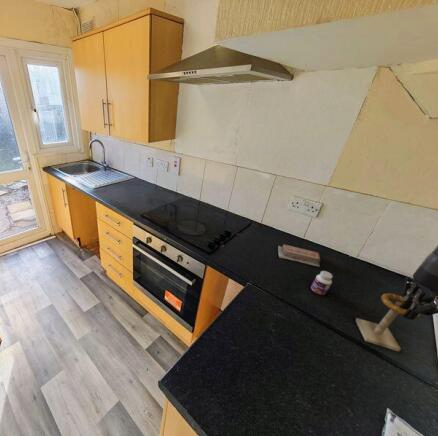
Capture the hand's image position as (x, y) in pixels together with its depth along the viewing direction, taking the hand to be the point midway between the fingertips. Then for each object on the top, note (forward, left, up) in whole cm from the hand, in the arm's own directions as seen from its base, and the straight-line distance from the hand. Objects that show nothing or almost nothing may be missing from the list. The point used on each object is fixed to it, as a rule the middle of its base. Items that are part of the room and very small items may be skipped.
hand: (405, 314), depth 69 cm
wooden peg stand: (0, -3, -15) cm, 15 cm away
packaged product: (+18, -44, -15) cm, 49 cm away
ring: (0, -3, +1) cm, 3 cm away
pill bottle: (+14, -19, -15) cm, 28 cm away
